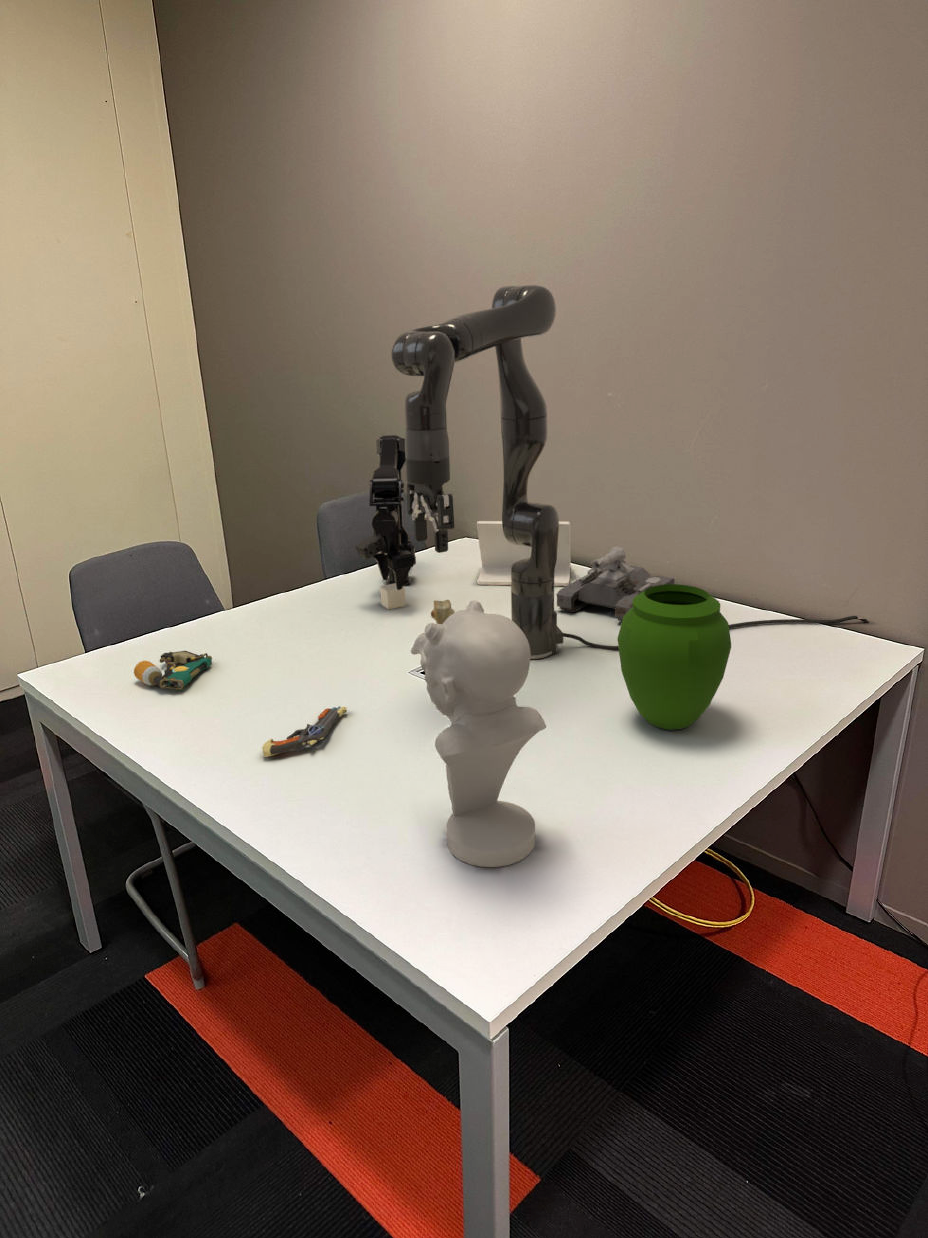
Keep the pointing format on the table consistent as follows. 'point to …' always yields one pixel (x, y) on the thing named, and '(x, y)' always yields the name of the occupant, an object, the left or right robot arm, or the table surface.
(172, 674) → the spray gun
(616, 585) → the toy
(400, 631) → the table surface
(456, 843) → the bust sculpture
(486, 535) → the tablet stand
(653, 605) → the vase
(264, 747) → the toy gun
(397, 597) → the beige wooden cube
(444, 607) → the sculpture
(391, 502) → the left robot arm
